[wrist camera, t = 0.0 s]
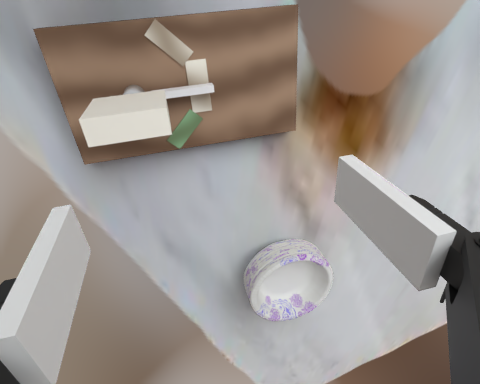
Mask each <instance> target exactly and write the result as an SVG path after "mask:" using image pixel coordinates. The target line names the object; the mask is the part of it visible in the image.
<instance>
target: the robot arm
mask: <svg viewBox="0 0 480 384" xmlns="http://www.w3.org/2000/svg"><path fill="white" fill-rule="evenodd" d="M334 202H335V203H336V204H337V205H338V206H339V207H340V208H341V209H342V210H343V211H344V212H345V213H346V214H347V215H348V217H349V218H350V219H351V220H352V221H353V222H354V223H355V224H356V225H357V226H358V227H359V228H360V229H361V230H362V231H363V233H364V234H365V235H366V236H367V237H368V238H369V239H370V240H371V241H372V242H373V243H374V244H375V245H376V246H377V247H378V249H379V250H380V251H381V252H382V253H383V254H384V255H385V256H386V257H387V258H388V259H389V260H390V261H391V262H392V263H393V265H394V266H395V267H396V268H397V269H398V270H399V271H400V272H401V273H402V274H403V275H404V276H405V277H406V278H407V279H408V281H409V282H410V283H411V284H412V285H413V286H414V287H415V288H416V289H417V290H418V291H421V290H425V289H429V288H432V287H436V285H437V282H438V280H439V277H440V275H441V276H442V277H443V278H444V279H445V280H446V281H447V284H446V287H445V289H444V292H443V294H442V297H441V299H440V303H443V302H444V300H445V299H446V311H447V326H448V342H449V358H450V373H451V384H480V232H473V233H471V232H470V231H468V230H467V229H465V228H464V227H463V226H461V225H460V224H458V223H457V222H455V221H454V220H453V219H451V218H450V217H448V216H447V215H446V214H442V212H441V211H440V210H438V209H437V208H434V206H433V205H431V204H430V203H428V202H427V201H426V200H424V199H421V198H419V197H416V196H414V195H409V196H408V195H407V194H405V193H404V192H403V191H401V190H400V189H399V188H397V187H396V186H395V185H393V184H392V183H390V182H389V181H388V180H386V179H385V178H384V177H382V176H381V175H379V174H378V173H377V172H375V171H374V170H373V169H371V168H370V167H369V166H367V165H366V164H364V163H363V162H362V161H360V160H359V159H358V158H356V157H355V156H354V155H348V156H342V157H339V161H338V171H337V180H336V190H335V199H334ZM90 252H91V249H90V247H89V245H88V243H87V240H86V238H85V236H84V233H83V231H82V229H81V226H80V224H79V222H78V219H77V217H76V215H75V213H74V210H73V208H72V206H71V205H66V206H61V207H55V208H53V209H52V211H51V213H50V214H49V217H48V219H47V220H46V222H45V224H44V226H43V228H42V230H41V232H40V234H39V236H38V238H37V240H36V242H35V244H34V246H33V248H32V249H31V251H30V253H29V255H28V257H27V259H26V261H25V263H24V265H23V267H22V269H21V271H20V273H19V275H18V277H17V278H15V279H10V280H5V281H4V282H3V283H2V284H1V285H0V384H56V381H57V377H58V374H59V370H60V366H61V362H62V358H63V355H64V351H65V347H66V343H67V339H68V336H69V332H70V328H71V324H72V320H73V316H74V313H75V309H76V306H77V302H78V298H79V294H80V290H81V287H82V283H83V279H84V275H85V271H86V268H87V264H88V260H89V256H90Z"/></svg>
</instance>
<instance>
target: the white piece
mask: <svg viewBox="0 0 480 384" xmlns="http://www.w3.org/2000/svg"><path fill="white" fill-rule="evenodd" d="M213 92H214V85H213V84H212V83H206V84H198V85H191V86H183V87H175V88H167V89H160V90H152V91H148V92H144V90H143V89H142V88H141V87H140V86H137V85H130V86H128V87H127V88H126V89H125V91H124V93H123V95H118V96H110V97H102V98H95V99H93V100H92V101H91V103H90V104H89V106H88V107H87V108H86V110H85V111H84V113H83V114H82V116H81V117H80V119H79V122H80V125H81V128H82V130H83V133H84V136H85V139H86V142H87V144H88V147H95V146H101V145H108V144H114V143H121V142H127V141H134V140H140V139H147V138H153V137H160V136H166V135H172V131H171V123H170V116H169V110H168V105H167V100H166V99H168V98H176V97H183V96H191V95H198V94H205V93H213Z"/></svg>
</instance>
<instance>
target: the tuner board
mask: <svg viewBox="0 0 480 384" xmlns="http://www.w3.org/2000/svg"><path fill="white" fill-rule="evenodd" d="M33 30H34V32H35V35H36V38H37V40H38V43H39V46H40V48H41V51H42V54H43V56H44V59H45V61H46V64H47V67H48V69H49V72H50V75H51V77H52V80H53V83H54V85H55V88H56V90H57V93H58V96H59V98H60V101H61V104H62V106H63V109H64V112H65V114H66V117H67V119H68V122H69V125H70V127H71V130H72V133H73V135H74V138H75V140H76V143H77V146H78V148H79V151H80V154H81V156H82V159H83V162H84V164H91V163H97V162H103V161H109V160H116V159H122V158H128V157H134V156H140V155H146V154H153V153H159V152H165V151H171V150H177V149H183V148H190V147H196V146H202V145H208V144H214V143H220V142H227V141H233V140H239V139H245V138H251V137H257V136H264V135H270V134H276V133H282V132H288V131H294V130H296V88H297V40H298V5H284V6H273V7H262V8H252V9H241V10H230V11H219V12H208V13H198V14H187V15H176V16H165V17H154V18H144V19H133V20H122V21H111V22H100V23H90V24H79V25H68V26H57V27H46V28H38V29H33ZM206 83H212V84H213V85H214V92H213V93H205V94H198V95H191V96H183V97H176V98H168V99H166V100H167V105H168V110H169V116H170V123H171V131H172V135H166V136H160V137H153V138H147V139H140V140H134V141H127V142H121V143H114V144H108V145H101V146H95V147H88V144H87V142H86V139H85V136H84V133H83V130H82V128H81V125H80V122H79V119H80V117H81V116H82V114H83V113H84V111H85V110H86V108H87V107H88V106H89V104H90V103H91V101H92V100H93V99H95V98H102V97H110V96H118V95H123V93H124V91H125V89H126V88H127V87H128V86H130V85H137V86H140V87H141V88H142V89H143V90H144V92H148V91H152V90H160V89H167V88H175V87H183V86H191V85H198V84H206Z"/></svg>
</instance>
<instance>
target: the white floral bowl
mask: <svg viewBox="0 0 480 384" xmlns="http://www.w3.org/2000/svg"><path fill="white" fill-rule="evenodd" d="M332 284H333V270H332V268H331V266H330V264H329V263H328V261H327V260H326V259H325V257H324V256H323V254H322V253H321V252H320V250H319V249H318V248H317V247H316V246H315V245H314V244H312V243H311V242H308V241H306V240H301V239H288V240H284V241H278V242H275V243H272V244H270V245H268V246H267V247H265V248H264V249H262V250H261V251H259V252H258V253H257V254H256V255H255V257H253V259H252V260H251V261H250V263H249V264H248V266H247V267H246V270H245V272H244V286H245V290H246V293H247V296H248V299H249V301H250V305H251V307H252V309H253V310H254V311H255V313H257V314H258V315H259V316H260V317H262V318H264V319H267V320H271V321H286V320H291V319H295V318H298V317H300V316H303V315H305V314H307V313H308V312H310V311H312V310H313V309H315V308H316V307H317V306H318V305H319V304H320V303H321V302H322V301H323V300H324V299H325V298H326V296H327V295H328V294H329V292H330V290H331V287H332Z"/></svg>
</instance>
